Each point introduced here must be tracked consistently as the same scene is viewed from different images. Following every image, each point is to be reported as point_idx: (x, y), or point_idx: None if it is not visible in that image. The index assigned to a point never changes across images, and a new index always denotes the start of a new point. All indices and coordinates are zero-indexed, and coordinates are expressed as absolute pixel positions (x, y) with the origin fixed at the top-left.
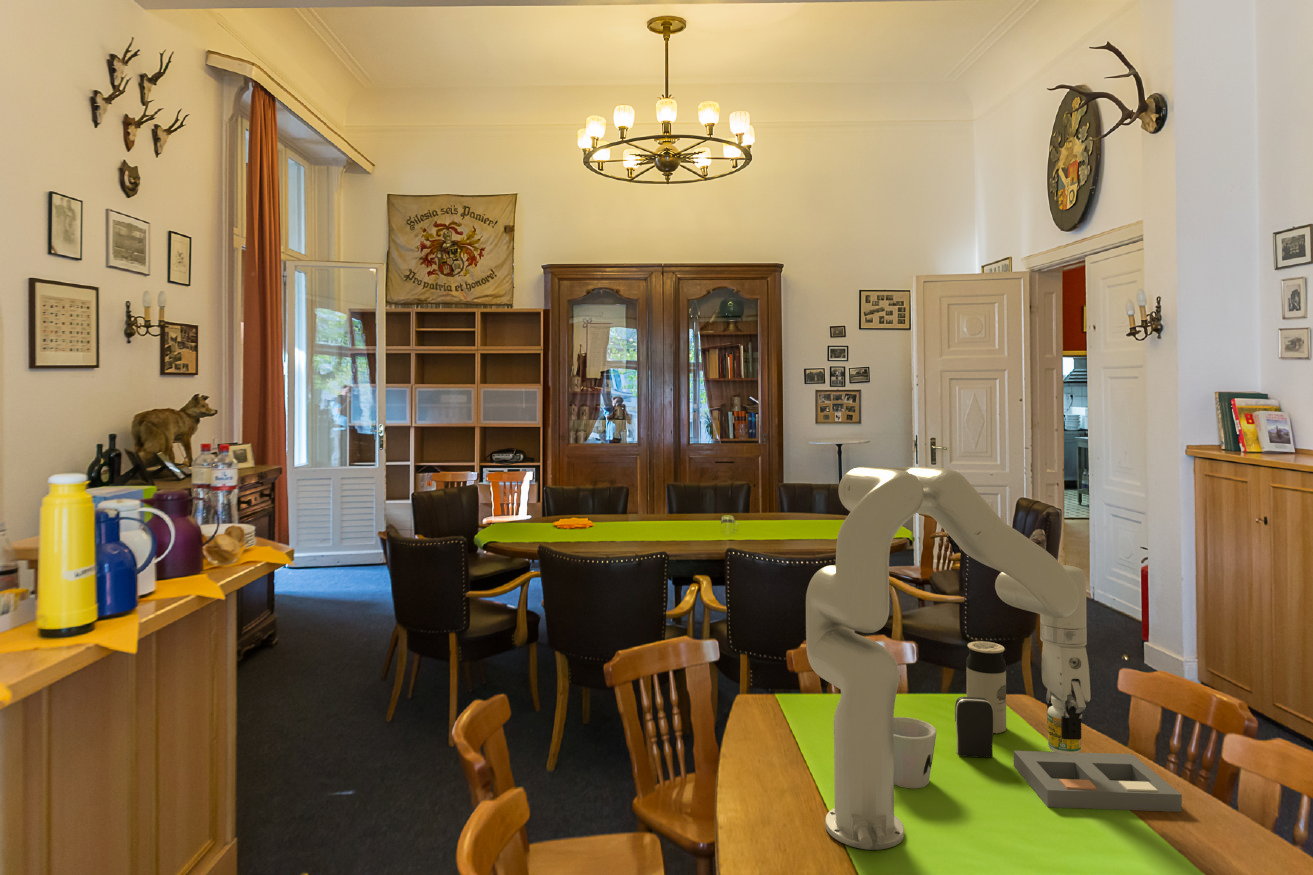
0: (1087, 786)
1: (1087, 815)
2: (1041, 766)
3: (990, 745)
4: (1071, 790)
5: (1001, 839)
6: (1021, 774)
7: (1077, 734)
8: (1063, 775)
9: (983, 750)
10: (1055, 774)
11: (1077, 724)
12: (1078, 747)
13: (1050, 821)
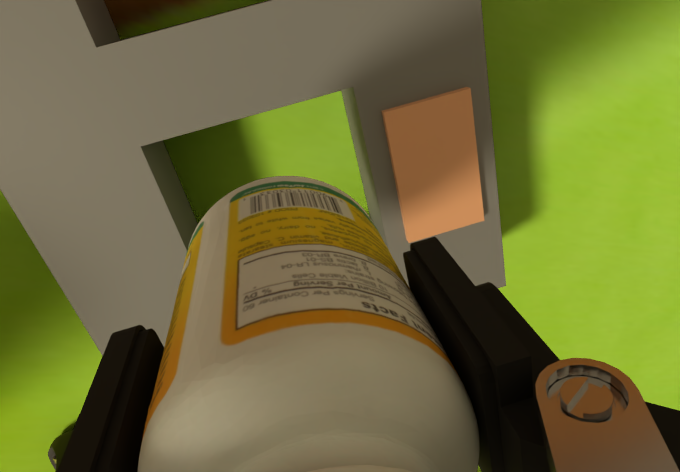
0: (462, 130)
1: (515, 125)
2: None
3: None
4: (496, 200)
5: (672, 361)
6: None
7: (490, 287)
8: (175, 179)
9: None
10: (190, 214)
11: (544, 346)
12: (357, 210)
13: (571, 248)
